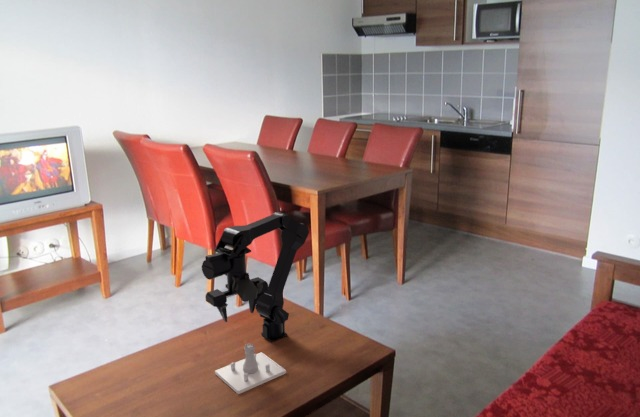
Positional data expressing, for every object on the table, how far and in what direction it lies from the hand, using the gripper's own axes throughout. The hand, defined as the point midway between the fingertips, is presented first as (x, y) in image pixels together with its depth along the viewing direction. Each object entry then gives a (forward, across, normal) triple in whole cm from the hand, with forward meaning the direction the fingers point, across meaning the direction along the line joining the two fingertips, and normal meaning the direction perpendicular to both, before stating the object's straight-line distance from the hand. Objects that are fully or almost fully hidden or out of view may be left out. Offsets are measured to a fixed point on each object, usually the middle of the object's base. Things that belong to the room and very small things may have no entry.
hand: (238, 317), depth 165 cm
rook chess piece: (+11, -4, -12) cm, 17 cm away
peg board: (+12, -4, -12) cm, 17 cm away
